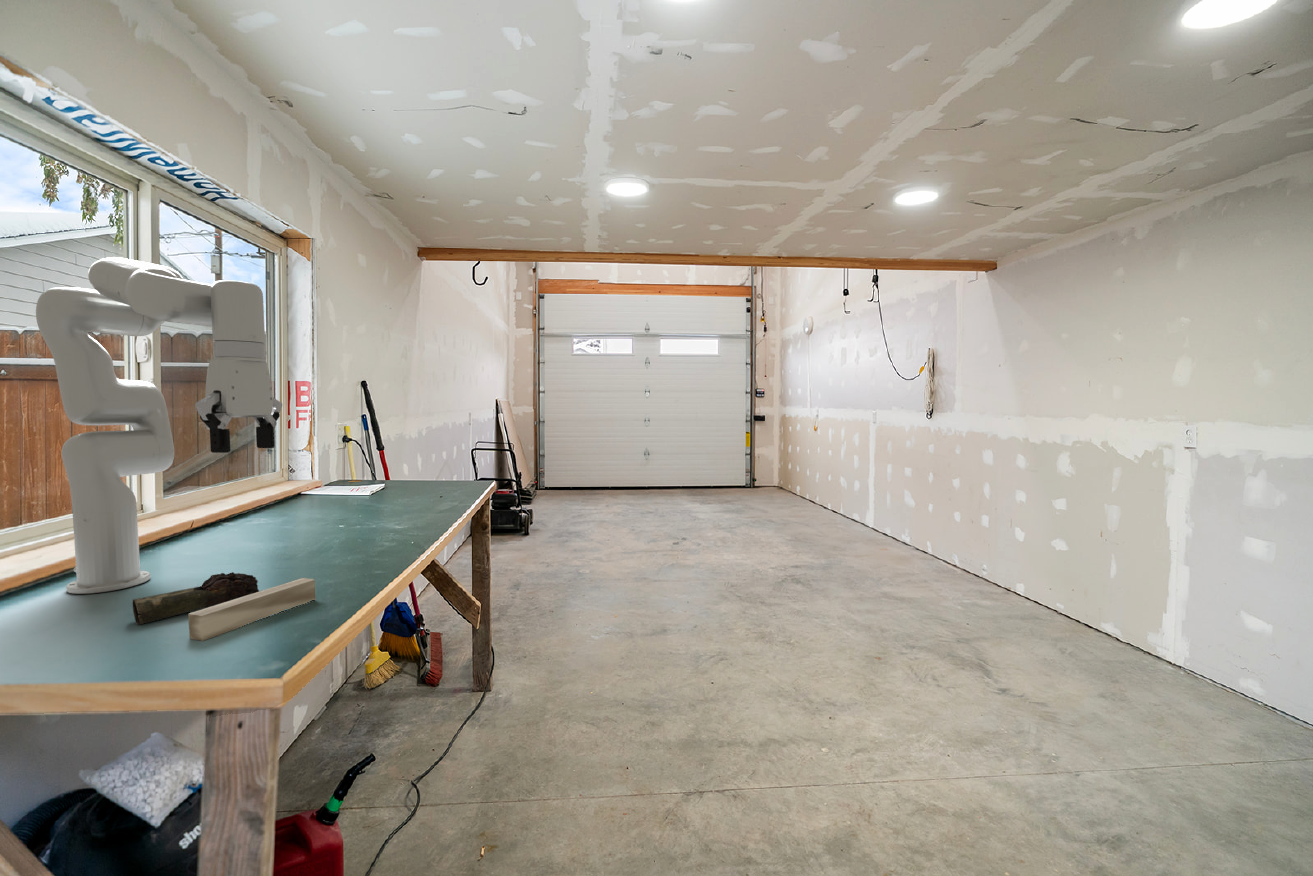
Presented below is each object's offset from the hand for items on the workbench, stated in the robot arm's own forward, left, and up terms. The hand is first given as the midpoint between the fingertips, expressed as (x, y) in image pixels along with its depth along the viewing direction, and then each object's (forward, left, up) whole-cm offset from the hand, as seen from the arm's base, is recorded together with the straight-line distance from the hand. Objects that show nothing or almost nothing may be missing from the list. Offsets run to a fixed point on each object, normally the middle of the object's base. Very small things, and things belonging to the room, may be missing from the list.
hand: (244, 450), depth 104 cm
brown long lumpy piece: (-9, -3, -29) cm, 31 cm away
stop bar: (+5, -3, -29) cm, 29 cm away
